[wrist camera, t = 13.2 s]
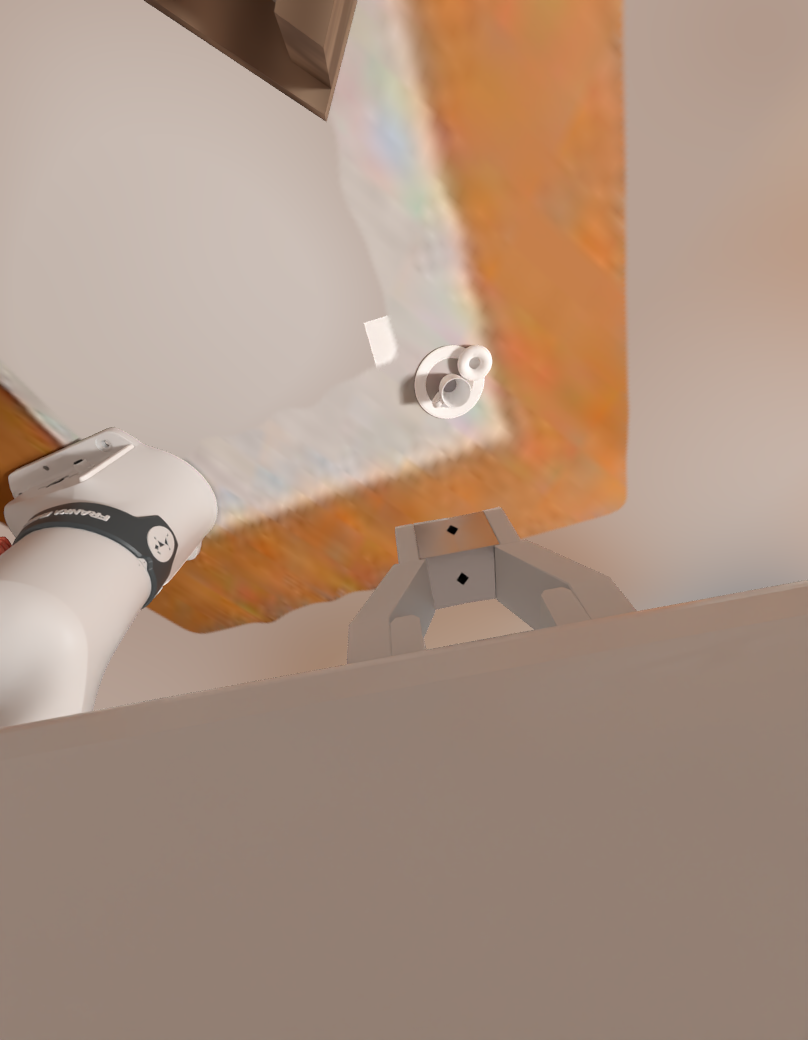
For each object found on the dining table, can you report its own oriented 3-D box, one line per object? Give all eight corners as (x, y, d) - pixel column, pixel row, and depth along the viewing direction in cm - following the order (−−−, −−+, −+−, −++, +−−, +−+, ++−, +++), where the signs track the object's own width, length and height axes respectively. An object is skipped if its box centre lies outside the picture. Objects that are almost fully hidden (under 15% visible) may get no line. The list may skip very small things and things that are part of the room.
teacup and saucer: (485, 332, 39) (496, 338, 36) (493, 404, 44) (504, 415, 40) (406, 356, 40) (410, 364, 36) (422, 425, 44) (427, 437, 41)
